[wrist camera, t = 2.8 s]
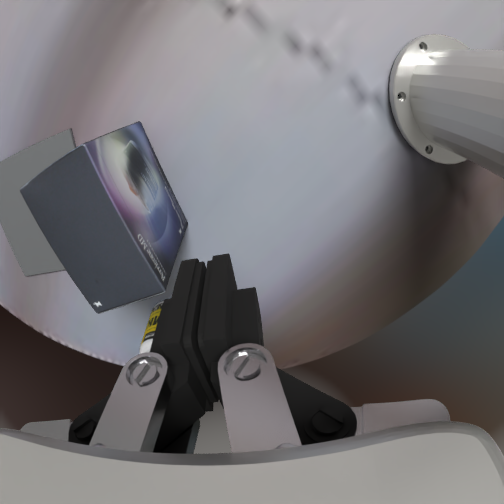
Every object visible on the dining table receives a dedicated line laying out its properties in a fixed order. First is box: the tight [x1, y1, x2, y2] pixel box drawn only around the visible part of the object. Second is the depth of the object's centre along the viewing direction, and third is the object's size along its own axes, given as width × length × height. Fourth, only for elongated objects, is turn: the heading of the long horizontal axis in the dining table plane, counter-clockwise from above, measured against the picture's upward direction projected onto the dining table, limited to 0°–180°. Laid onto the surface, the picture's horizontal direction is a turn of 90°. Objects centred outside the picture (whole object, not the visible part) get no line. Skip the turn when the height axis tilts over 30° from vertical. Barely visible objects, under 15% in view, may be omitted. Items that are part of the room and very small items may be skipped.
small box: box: [20, 122, 188, 314], centre depth 21 cm, size 11×6×10 cm, turn 20°
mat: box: [0, 129, 76, 276], centre depth 26 cm, size 14×14×1 cm
